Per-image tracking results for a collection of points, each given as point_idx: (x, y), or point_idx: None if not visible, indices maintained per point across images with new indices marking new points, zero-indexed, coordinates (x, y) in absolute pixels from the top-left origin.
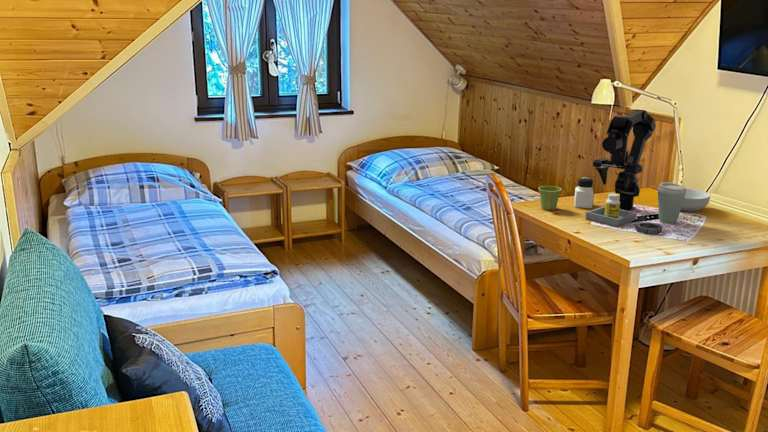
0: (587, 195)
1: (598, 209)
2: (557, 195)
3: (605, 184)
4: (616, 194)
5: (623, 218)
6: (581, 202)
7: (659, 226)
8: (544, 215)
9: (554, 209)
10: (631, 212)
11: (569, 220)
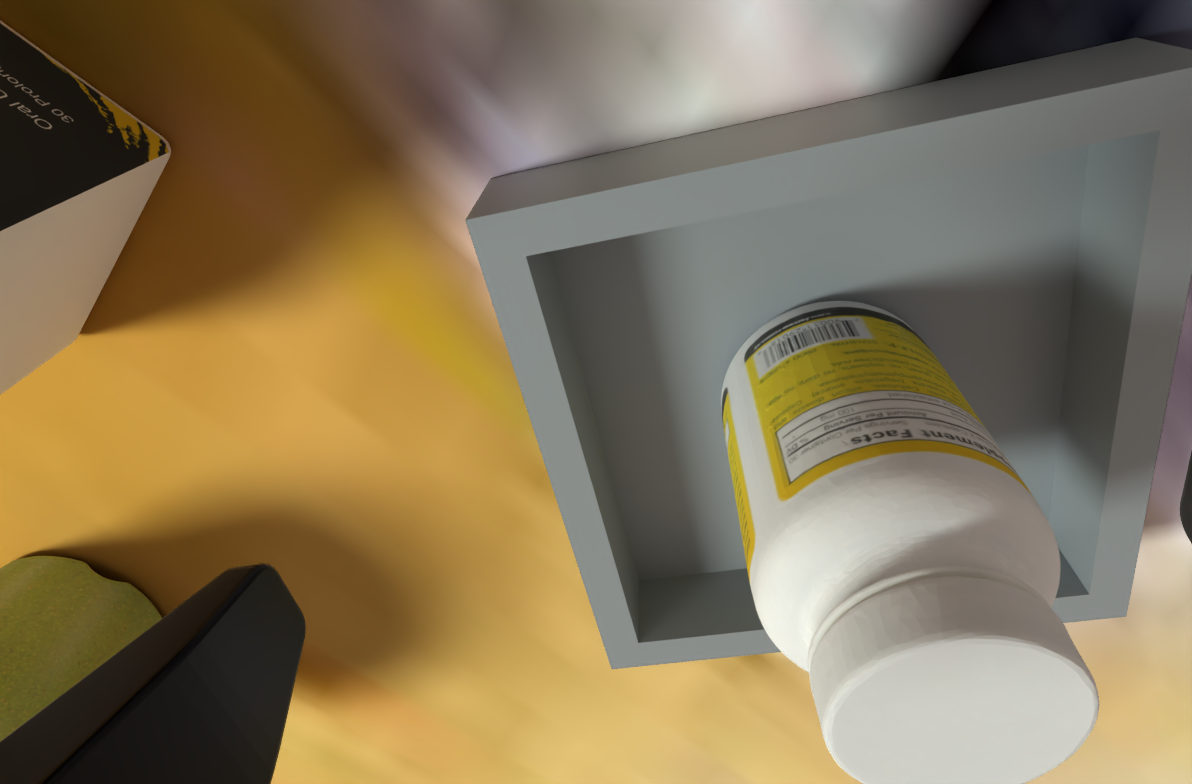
0: None
1: (587, 466)
2: None
3: (276, 579)
4: (998, 673)
5: (1143, 496)
6: (49, 320)
7: None
8: (326, 764)
9: (157, 612)
10: (1105, 121)
11: (565, 714)
